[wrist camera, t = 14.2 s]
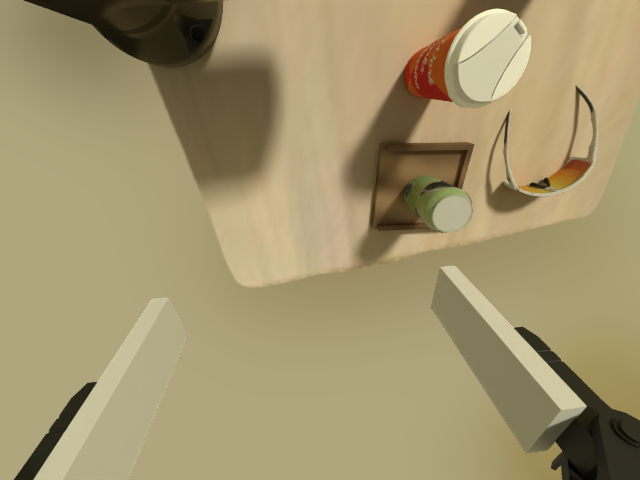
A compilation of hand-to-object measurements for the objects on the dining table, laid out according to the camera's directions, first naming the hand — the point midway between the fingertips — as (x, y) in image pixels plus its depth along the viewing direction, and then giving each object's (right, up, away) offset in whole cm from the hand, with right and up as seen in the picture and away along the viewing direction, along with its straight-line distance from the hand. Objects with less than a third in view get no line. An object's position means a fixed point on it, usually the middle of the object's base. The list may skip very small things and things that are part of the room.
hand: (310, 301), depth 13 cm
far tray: (+17, +12, +30) cm, 37 cm away
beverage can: (+17, +12, +30) cm, 36 cm away
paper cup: (+15, +26, +23) cm, 37 cm away
